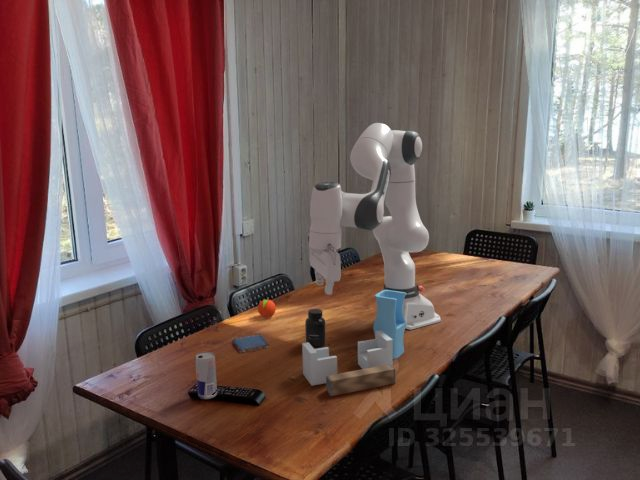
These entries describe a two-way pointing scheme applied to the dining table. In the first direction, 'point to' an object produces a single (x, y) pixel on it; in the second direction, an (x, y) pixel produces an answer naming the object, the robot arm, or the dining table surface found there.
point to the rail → (360, 379)
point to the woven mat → (250, 343)
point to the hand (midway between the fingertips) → (323, 289)
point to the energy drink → (206, 375)
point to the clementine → (266, 308)
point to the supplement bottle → (315, 328)
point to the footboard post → (317, 364)
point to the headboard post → (375, 351)
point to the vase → (391, 318)
